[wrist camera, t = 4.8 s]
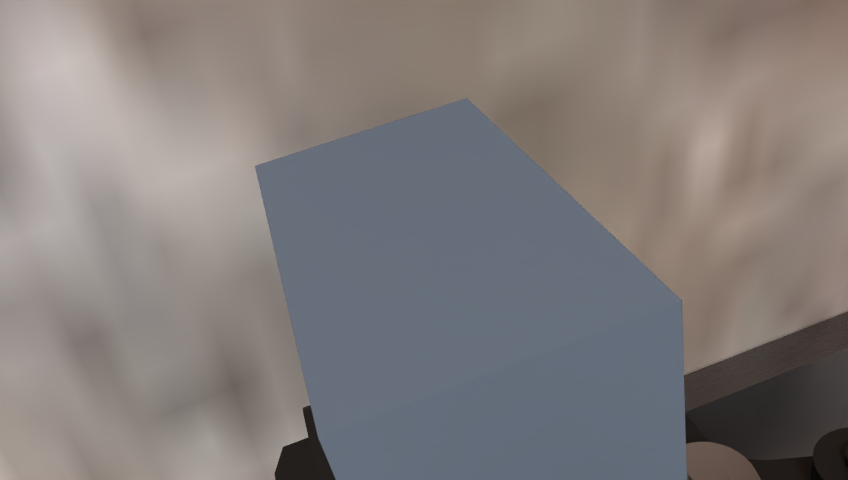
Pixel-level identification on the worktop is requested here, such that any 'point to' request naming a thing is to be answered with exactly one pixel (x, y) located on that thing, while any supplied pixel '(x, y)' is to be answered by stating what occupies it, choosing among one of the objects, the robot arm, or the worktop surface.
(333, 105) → the worktop surface
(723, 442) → the gray desk organizer
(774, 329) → the worktop surface
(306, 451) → the robot arm
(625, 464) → the blue rectangular block
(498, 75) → the worktop surface
